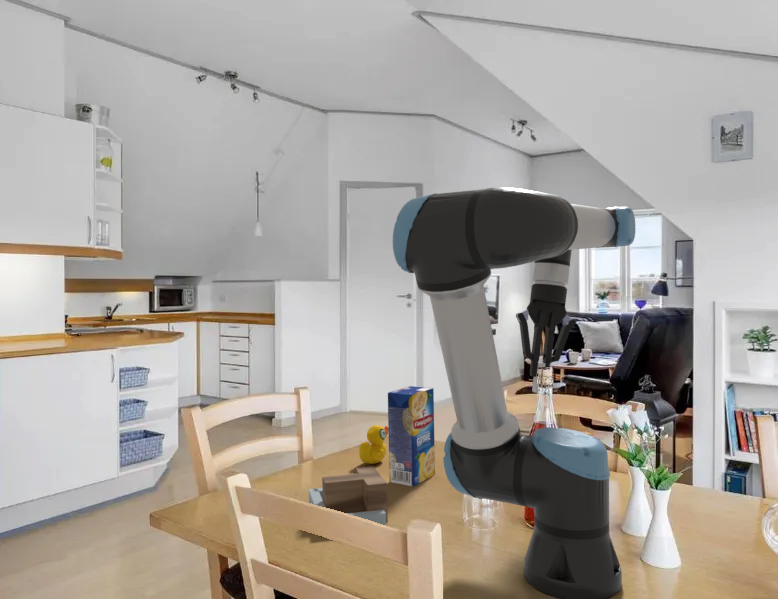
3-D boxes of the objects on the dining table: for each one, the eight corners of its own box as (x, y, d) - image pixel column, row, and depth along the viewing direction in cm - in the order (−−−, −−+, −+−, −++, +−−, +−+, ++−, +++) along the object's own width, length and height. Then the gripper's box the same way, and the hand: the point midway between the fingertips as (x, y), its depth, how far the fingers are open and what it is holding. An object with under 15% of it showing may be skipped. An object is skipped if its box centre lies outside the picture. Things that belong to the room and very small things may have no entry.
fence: (386, 528, 120) (385, 513, 120) (320, 536, 116) (320, 520, 116) (365, 496, 138) (365, 483, 138) (308, 502, 135) (308, 489, 135)
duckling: (380, 456, 171) (379, 420, 171) (395, 459, 168) (394, 423, 168) (354, 465, 162) (353, 428, 162) (369, 469, 159) (369, 431, 159)
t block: (387, 522, 123) (386, 483, 123) (329, 529, 120) (328, 489, 120) (373, 502, 134) (373, 466, 134) (320, 508, 131) (319, 471, 131)
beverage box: (435, 474, 154) (433, 388, 153) (413, 486, 144) (411, 395, 144) (411, 470, 157) (410, 386, 157) (389, 482, 148) (387, 392, 148)
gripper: (573, 289, 136) (561, 393, 135) (516, 281, 135) (503, 386, 135) (585, 287, 128) (572, 398, 127) (524, 279, 128) (511, 390, 127)
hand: (536, 392), depth 131 cm, fingers closed
